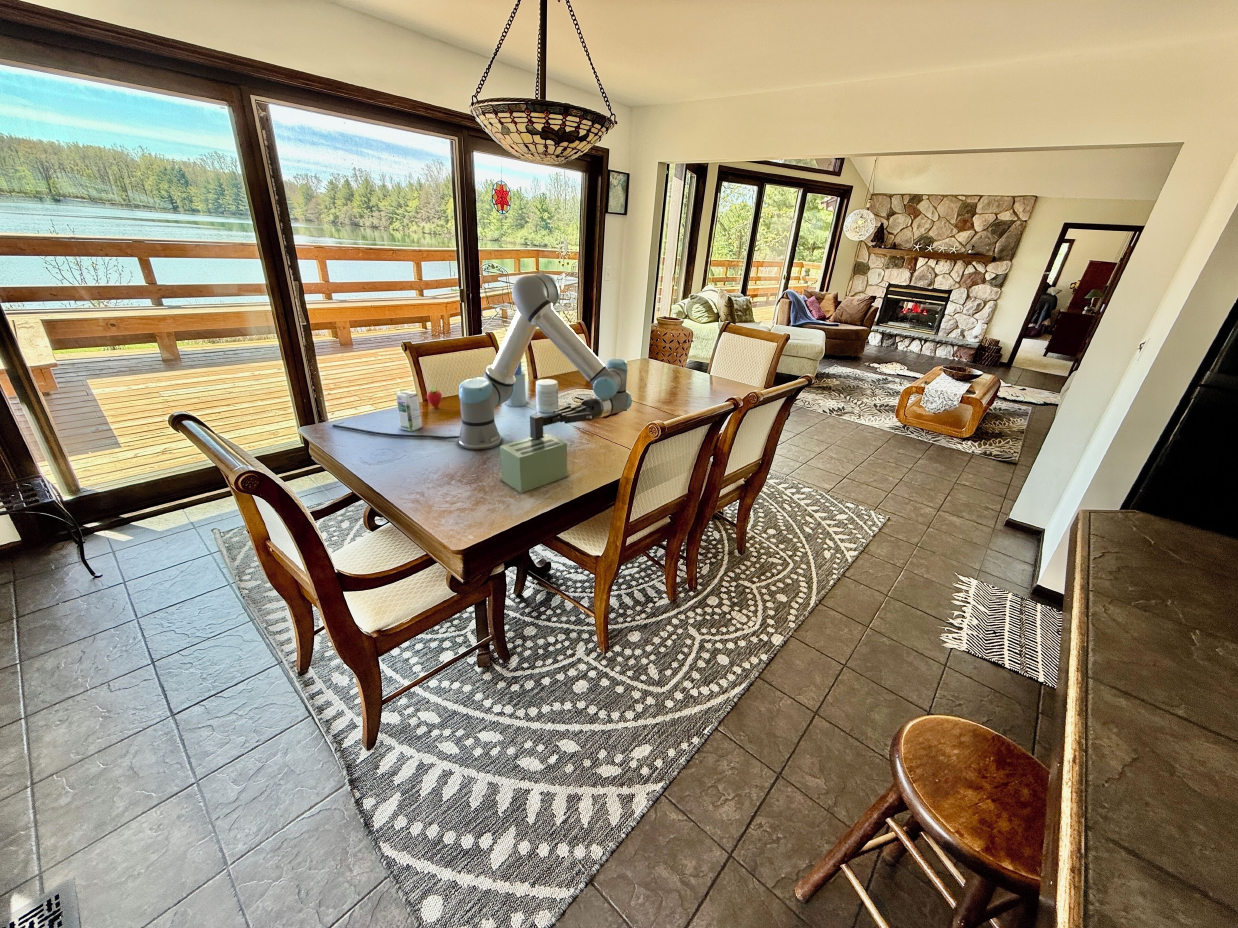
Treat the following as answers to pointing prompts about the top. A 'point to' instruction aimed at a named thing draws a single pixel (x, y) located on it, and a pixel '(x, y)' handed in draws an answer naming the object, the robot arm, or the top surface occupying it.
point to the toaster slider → (536, 426)
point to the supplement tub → (546, 396)
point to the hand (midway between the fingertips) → (541, 421)
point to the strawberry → (434, 397)
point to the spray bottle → (518, 389)
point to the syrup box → (408, 410)
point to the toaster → (533, 462)
